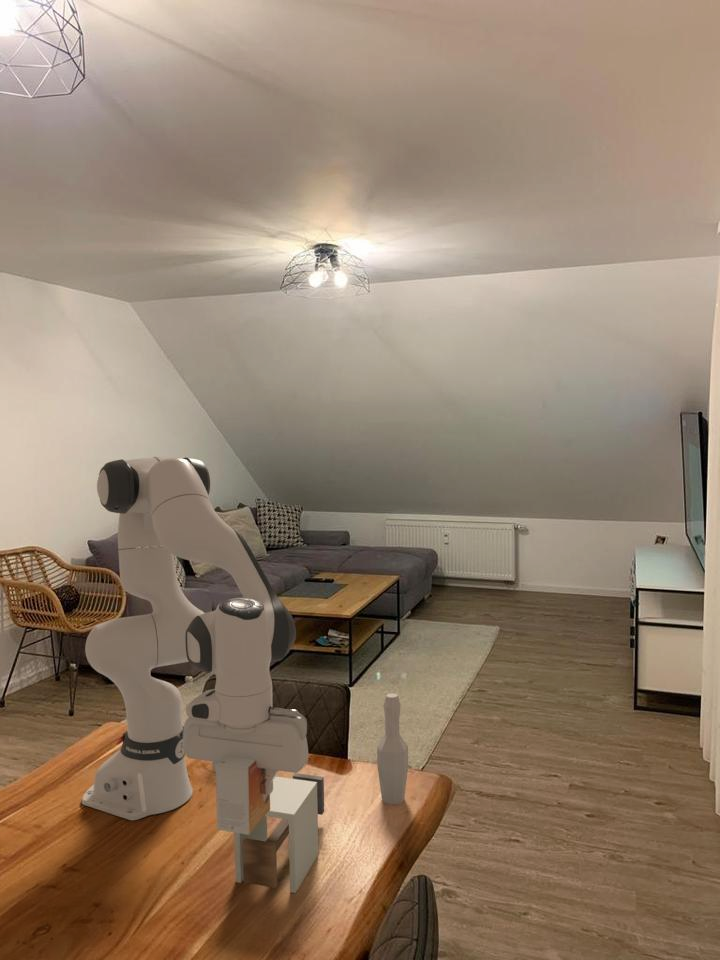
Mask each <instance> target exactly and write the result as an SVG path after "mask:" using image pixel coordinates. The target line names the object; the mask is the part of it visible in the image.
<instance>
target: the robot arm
mask: <svg viewBox="0 0 720 960" xmlns="http://www.w3.org/2000/svg"><path fill="white" fill-rule="evenodd" d="M96 490H97V491H96V492H97V494H98V495H97V496H98V498H99V502H100V503H101V506H102V507H103V508H104V509H105V510H106V511H108V512H110V513H114V514H119V515H118V517H119V518H118V526H117V527H118V530H117V548H118V550H117V551H118V552H117V553H118V564H119V565H118V567H119V582H120V585H121V587H122V588H123V590H124V591H125V592H127V593H128V594H130V595H132V596H134V597H137V598H140V599H143V600H145V601H148V602H149V603H150V605H151V608H152V612H151V613H148V614H140V615H133V616H132V615H131V616H125V617H124V616H123V617H118V618H114V619H111V620H108V621H105V622H102V623H99V624H96V625H94V626H93V628H91V630H90V632H89V633H88V636H87V638H86V641H85V648H84V651H85V657H86V659H87V660H86V661H87V662H88V664H89V665H90V667H91V668H92V669H94V671H96V672H97V673H99V674H101V675H103V676H104V677H106V678H108V679H109V680H110V681H111V682H113V683H114V685H115V686H116V687H117V688H118V690H119V692H120V693H121V696H122V698H123V702H124V707H125V714H126V724H127V725H126V726H127V730H126V731H125V732H123V733H122V735H121V736H120V737H118V738H116V740H115V741H117V742H116V743H115V745H117V746H118V745H119V744H121V743H122V745H121V747H120V749H119V750H117V751H116V752H115V753H114V754H112V755H111V756H109V758H108V759H107V760H105V761H104V762H103V763H102V764H101V765H100V766H99V767H98V769H97V771H96V773H95V776H94V779H93V780H94V781H93V784H92V785H91V786H90V787H89V788H88V789H87V790H86V791H85V793H84V794H83V796H82V799H81V804H82V805H84V806H86V807H90V808H92V809H95V810H99V811H102V812H104V813H107V814H110V815H112V816H113V815H114V816H116V817H120V818H122V819H126V820H129V821H137V820H140V819H143V818H145V817H148V816H152V815H157V814H162V813H163V814H164V813H166V812H170V811H172V810H175V809H177V808H179V807H181V806H182V805H184V804H185V803H186V802H188V801H189V800H190V799H191V797H192V795H193V793H194V792H193V791H194V789H193V787H192V784H191V781H190V778H189V774H188V770H187V769H188V768H187V765H186V764H187V763H186V757H187V758H188V759H191V760H200V761H206V762H211V765H212V766H211V767H212V769H213V771H214V772H215V774H216V763H218V762H219V761H220V760H221V759H223V758H224V757H238V758H247V759H253V760H256V764H257V768H264V769H266V774H267V775H269V774H270V775H269V777H268V779H264V780H263V782H261V783H260V789H261V790H260V794H266V795H270V794H271V793H272V791H273V780H274V778H275V777H277V774H278V773H279V771H280V772H286V773H294V774H295V773H299V772H300V771H301V770H302V769H303V768H304V767H305V766H306V764H307V763H308V761H309V748H308V747H309V746H308V745H309V744H308V740H307V735H308V722H307V721H308V720H307V718H306V717H305V716H304V715H303V714H302V713H299V711H298V710H297V709H291V708H289V709H287V708H282V707H277V706H276V707H275V706H273V680H272V677H271V672H270V665H271V662H280V661H282V660H283V659H284V658H285V657H286V656H287V654H289V652H290V651H291V649H292V648H293V646H294V644H295V641H296V637H297V628H296V624H295V621H294V618H293V616H292V614H291V613H290V611H289V609H288V608H287V607H286V606H285V604H284V603H283V602H282V601H281V600H280V597H278V596H277V594H276V592H275V590H274V588H273V586H272V585H271V583H270V580H269V579H268V578H267V575H266V574H265V572H264V571H263V569H262V567H261V565H260V563H259V561H258V560H257V558H256V556H255V554H254V553H253V551H252V549H251V547H250V546H249V544H248V543H247V541H246V539H245V538H244V536H243V535H242V533H241V532H239V530H238V529H235V528H233V527H231V526H229V524H227V523H226V522H225V521H224V520H223V519H222V518H221V517H220V516H219V514H218V513H217V512H216V510H215V508H214V506H213V505H212V503H211V499H210V497H209V495H210V491H211V477H210V472H209V470H208V468H207V466H206V465H205V463H204V462H203V461H202V460H199V459H197V458H192V457H183V458H181V457H169V456H154V457H144V458H134V459H133V458H132V459H127V460H126V459H125V460H124V459H115V460H112V461H109V462H107V463H105V464H104V465H103V466H102V467H101V468H100V471H99V473H98V478H97V482H96ZM175 557H178V558H179V559H183V560H187V561H193V562H199V563H204V564H207V565H212V566H214V567H218V568H220V569H222V570H224V571H226V572H227V573H228V574H229V575H230V576H231V577H232V578H233V580H234V582H235V584H236V585H237V588H238V589H239V592H241V595H242V597H235V598H234V597H233V598H229V599H226V600H223V601H222V602H220V603H219V604H218V605H217V607H216V608H215V610H212V611H207V612H204V611H203V610H202V609H199V608H198V607H196V606H195V605H194V604H193V603H191V601H190V600H189V599H188V598H187V596H186V595H185V594H184V592H183V590H182V588H181V585H180V582H179V580H178V577H177V576H178V574H177V568H176V562H175ZM188 662H189V663H190V665H192V666H194V667H195V668H196V669H199V671H202V672H204V673H206V674H211V673H212V674H214V675H215V678H216V680H215V684H214V685H215V686H214V688H213V689H207V690H205V691H204V692H202V693H200V694H199V695H198V696H196V697H194V698H193V699H192V700H191V701H190V702H189V703H188V704H186V707H185V713H186V716H187V717H188V718H186V720H185V721H184V724H183V706H182V705H183V704H182V703H183V701H182V699H183V698H182V695H181V694H182V693H181V692H180V690H179V689H178V687H176V686H175V685H174V684H173V683H170V682H168V681H166V680H162V679H159V678H156V677H153V676H152V675H151V672H152V670H153V669H155V668H158V667H165V666H171V665H176V664H183V663H188ZM185 756H186V757H185Z"/></svg>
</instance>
